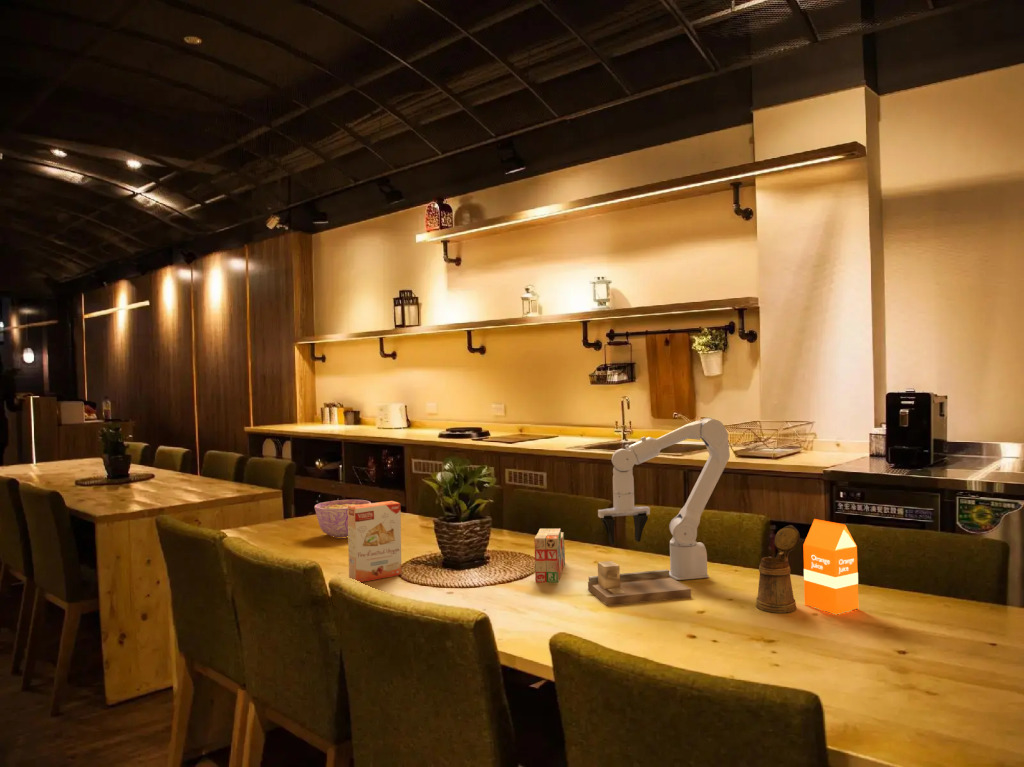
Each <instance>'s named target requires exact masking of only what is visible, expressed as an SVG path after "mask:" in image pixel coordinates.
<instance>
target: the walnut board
mask: <svg viewBox="0 0 1024 767" xmlns="http://www.w3.org/2000/svg"><path fill="white" fill-rule="evenodd" d="M669 571H670V569H659V570H648V571H635V572H626V573H624V572H623V573H620V587H619V588H608V589H605V588H603V587H602V586H601V585H599V584H598V575H591V576H588V581H587V589H588V591H589V592H590V593H592V594H593V595H594V596H595V597H597V599H599V600H600V601H601V602H603V603H604V604H605V605H606V606H616V605H617V606H618V605H626V604H634V603H635V604H637V603H646V602H654V601H655V602H656V601H657V602H658V601H664V600H665V601H667V600H675V599H686V598H692V588H690V587H688V586H686V585H685V584H683V583H682V582H680V581H679V580H676V579H674V578H672V577H671V576H669Z"/></svg>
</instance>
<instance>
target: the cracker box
mask: <svg viewBox="0 0 1024 767" xmlns="http://www.w3.org/2000/svg"><path fill="white" fill-rule="evenodd" d="M401 506H402V505H401V503H400V502H398V501H394V500H390V501H389V500H388V501H380V502H371V503H370V504H361V505H352V506H348V538H347V541H348V542H347V543H348V549H347V550H348V579H349V578H352V579H355V580H357V581H360V582H359V583H364V582H369V581H375V580H381V579H385V578H391V577H398V576H400V575H399V574H400V573H401V574H402V519H401V517H402V516H401V514H402V513H401V512H402V510H401Z"/></svg>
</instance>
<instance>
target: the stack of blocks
mask: <svg viewBox="0 0 1024 767" xmlns="http://www.w3.org/2000/svg"><path fill="white" fill-rule="evenodd" d="M565 549H566V548H565V533H564V532H562V531H561V528H539V530H538V532H537V534H536V535H535V537H534V560H535V561H534V566H535V574H534V575H535V583H556V584H557V583H559V580H561V579H560V578H561V576H562V572H563V568H564V567H565V563H566V559H565V558H566V554H565V552H566V551H565Z"/></svg>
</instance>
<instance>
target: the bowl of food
mask: <svg viewBox="0 0 1024 767" xmlns="http://www.w3.org/2000/svg"><path fill="white" fill-rule="evenodd" d="M370 503H372V502H371V501H369V500H366V499H365V500H364V499H340V500H331V501H324V502H319V503H317V504H315V505H314V511H315V514H316V518H317V522H318V524H319V527H320V530H321V531H322V532H323V533H324V534H325V535H328V536H331V537H332V536H334V537H347V536H348V506H352V505H361V504H370Z"/></svg>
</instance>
